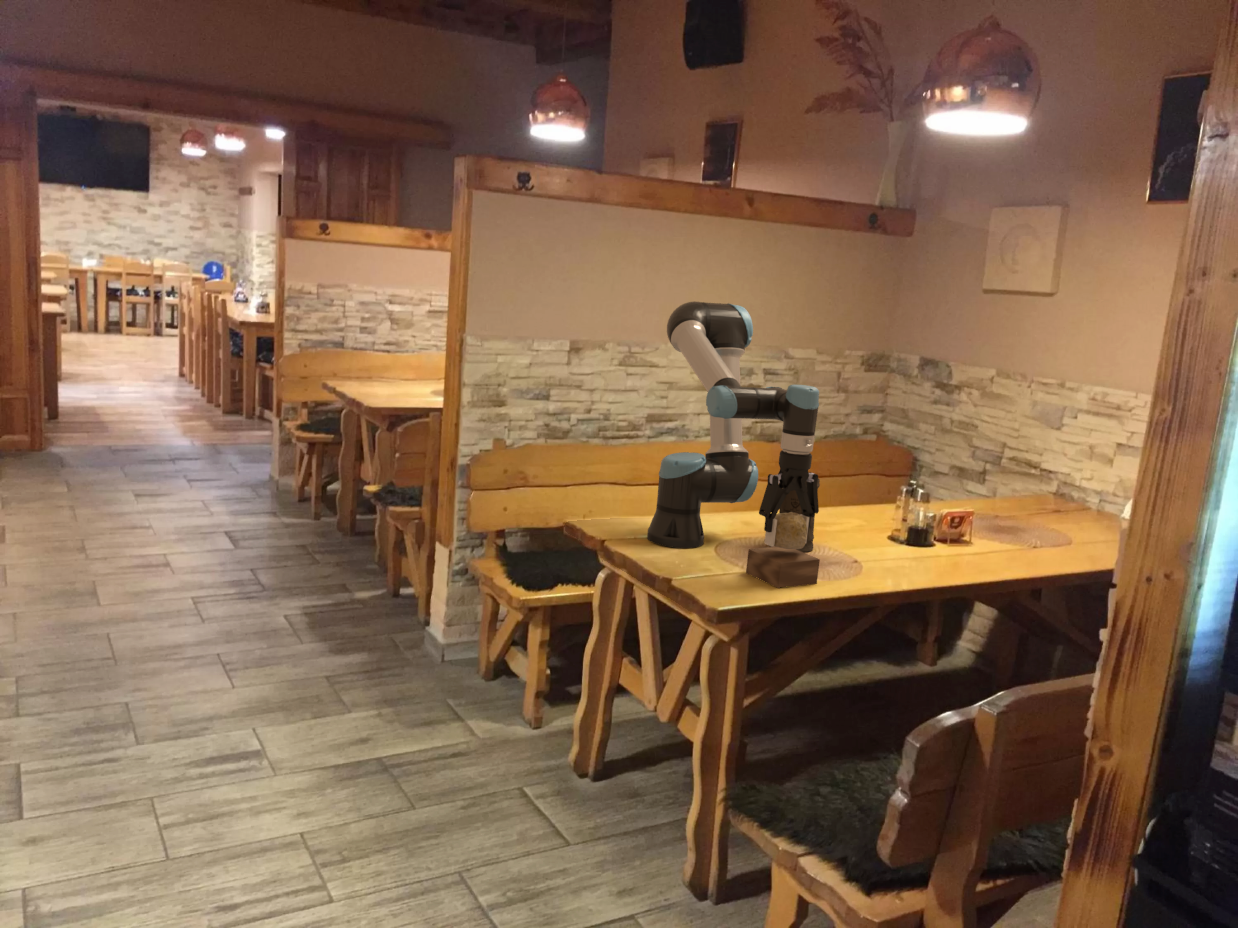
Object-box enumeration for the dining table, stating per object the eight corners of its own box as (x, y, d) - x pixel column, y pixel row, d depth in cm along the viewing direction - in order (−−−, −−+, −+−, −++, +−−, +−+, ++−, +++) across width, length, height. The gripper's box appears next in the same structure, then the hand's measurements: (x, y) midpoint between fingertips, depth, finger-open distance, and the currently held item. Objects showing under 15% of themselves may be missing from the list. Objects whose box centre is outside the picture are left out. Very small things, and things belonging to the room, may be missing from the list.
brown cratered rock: (795, 552, 226) (799, 520, 225) (760, 543, 231) (763, 512, 230) (812, 545, 234) (815, 514, 232) (777, 536, 239) (780, 506, 237)
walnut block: (745, 572, 236) (748, 549, 235) (783, 568, 243) (786, 545, 241) (778, 588, 226) (781, 563, 225) (816, 583, 233) (819, 559, 232)
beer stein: (812, 555, 257) (822, 480, 254) (772, 549, 259) (781, 475, 256) (812, 544, 272) (822, 474, 269) (774, 539, 274) (782, 469, 271)
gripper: (770, 455, 220) (759, 551, 224) (841, 453, 231) (830, 544, 235) (749, 449, 226) (739, 542, 230) (820, 447, 237) (809, 536, 242)
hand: (785, 543), depth 233 cm, fingers closed on brown cratered rock, 9 cm apart
